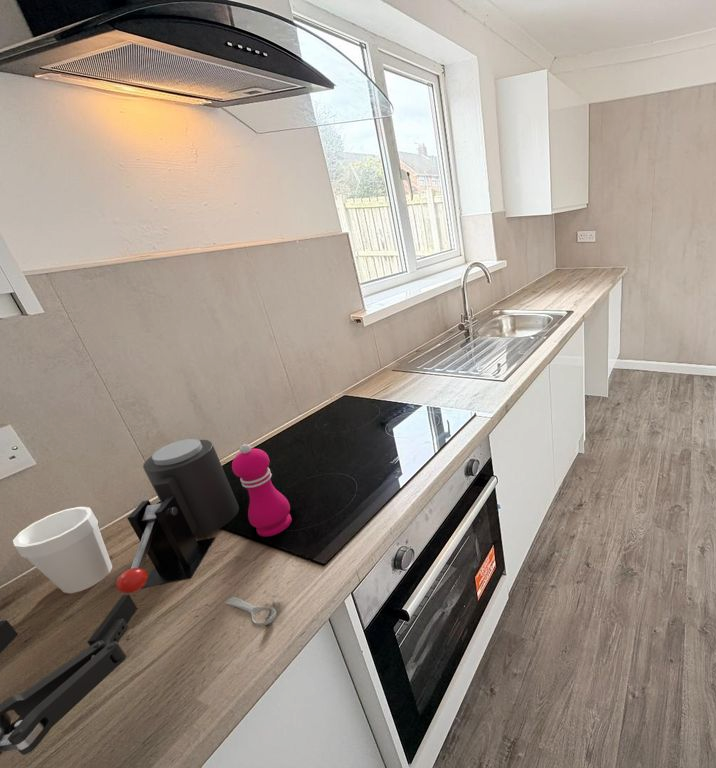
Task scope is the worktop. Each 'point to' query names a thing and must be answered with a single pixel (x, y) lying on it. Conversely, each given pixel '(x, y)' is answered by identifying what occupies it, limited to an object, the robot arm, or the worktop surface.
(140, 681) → the worktop surface
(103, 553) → the foam cup
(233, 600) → the bottle opener
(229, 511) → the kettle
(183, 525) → the bracket
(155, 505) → the red knob lever
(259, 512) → the pepper mill
